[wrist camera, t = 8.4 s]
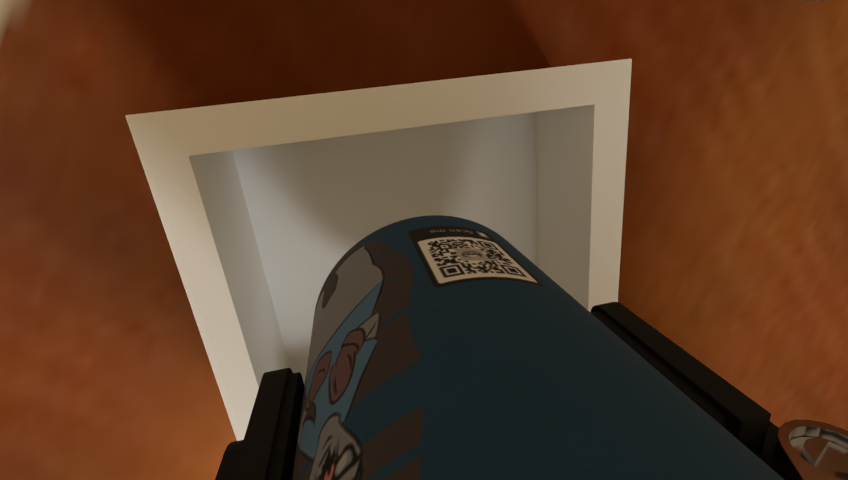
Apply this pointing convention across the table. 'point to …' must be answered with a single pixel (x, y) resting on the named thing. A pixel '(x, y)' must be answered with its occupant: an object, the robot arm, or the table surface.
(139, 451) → the table surface
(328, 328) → the soda can
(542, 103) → the walled box
